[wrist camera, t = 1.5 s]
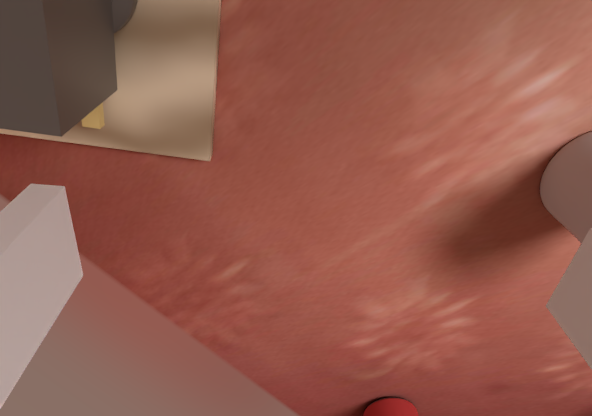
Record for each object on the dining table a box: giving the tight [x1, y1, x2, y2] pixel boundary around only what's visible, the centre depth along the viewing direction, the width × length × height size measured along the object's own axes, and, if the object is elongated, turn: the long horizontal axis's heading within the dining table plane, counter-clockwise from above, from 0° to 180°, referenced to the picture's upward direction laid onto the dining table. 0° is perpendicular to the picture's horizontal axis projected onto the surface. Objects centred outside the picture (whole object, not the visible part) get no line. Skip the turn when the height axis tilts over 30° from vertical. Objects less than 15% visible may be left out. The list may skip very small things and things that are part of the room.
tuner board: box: [0, 0, 221, 161], centre depth 26 cm, size 19×18×1 cm
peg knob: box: [0, 0, 138, 137], centre depth 22 cm, size 15×6×9 cm, turn 171°
